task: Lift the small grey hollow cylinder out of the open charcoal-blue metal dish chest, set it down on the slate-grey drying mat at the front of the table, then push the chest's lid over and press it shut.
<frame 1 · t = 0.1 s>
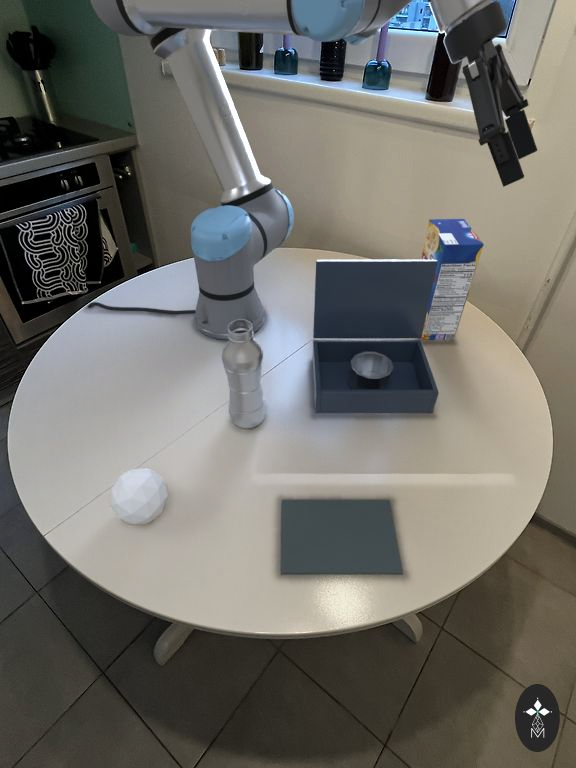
hand: (521, 167, 68), 36 cm above the table, tool tilted 35°, fingers open, 13 cm apart
blue cereal box: (429, 328, 99), on the table
dish chest: (368, 387, 85), on the table
grey hollow cylinder: (368, 384, 85), point 1 cm above the table, touching dish chest
drying mat: (338, 535, 63), on the table
geometric ball: (145, 510, 66), on the table
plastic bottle: (248, 419, 79), on the table
chest lid: (371, 301, 81), point 14 cm above the table, hinge at 95.0°
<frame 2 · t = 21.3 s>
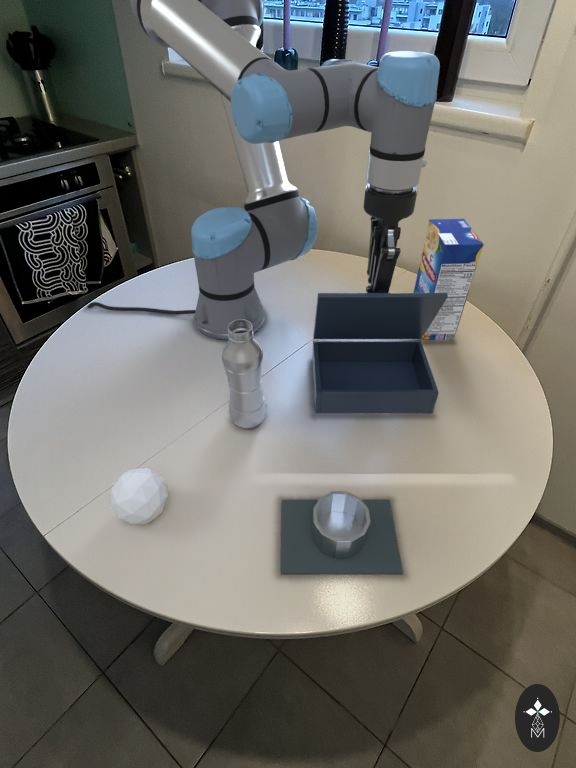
hand: (371, 318, 82), 11 cm above the table, tool pointing down, fingers closed
grey hollow cylinder: (338, 534, 63), resting on drying mat
chest lid: (374, 318, 79), point 13 cm above the table, hinge at 63.2°, touching gripper
everything else where it was.
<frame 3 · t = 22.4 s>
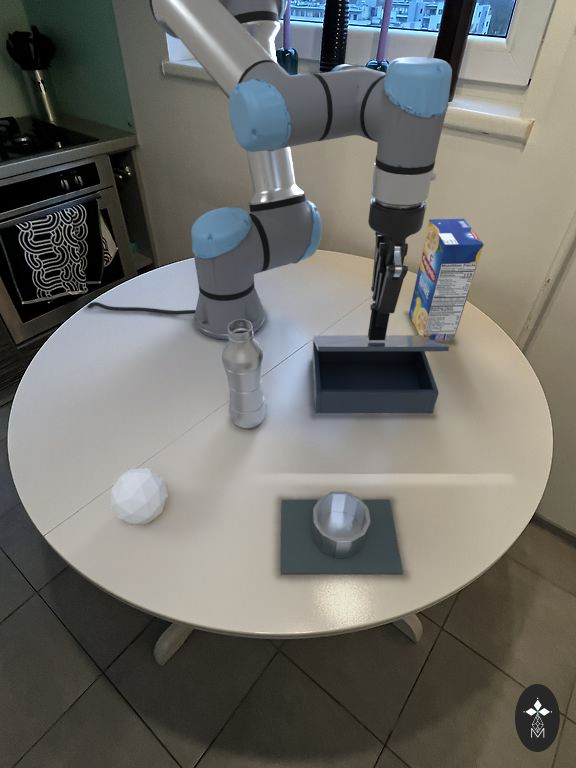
hand: (376, 337, 78), 12 cm above the table, tool pointing down, fingers closed
chest lid: (374, 342, 79), point 10 cm above the table, hinge at 30.6°
everything else where it was.
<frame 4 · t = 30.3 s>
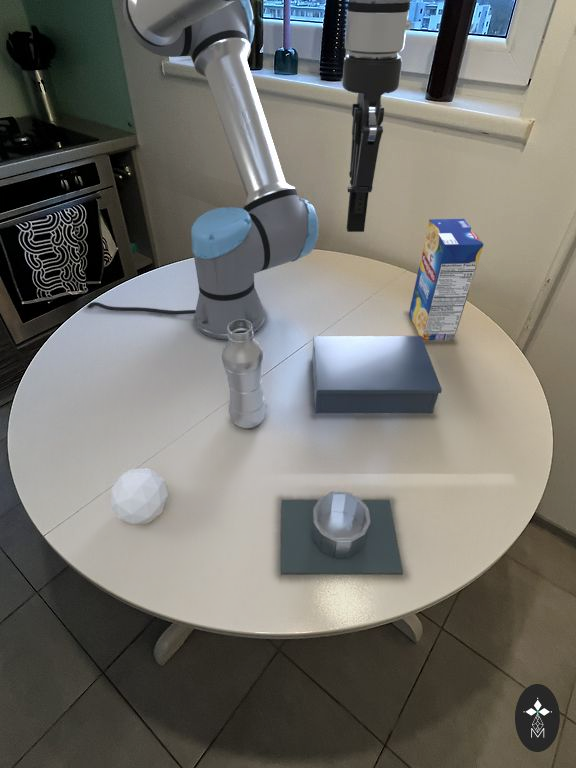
hand: (355, 229, 74), 26 cm above the table, tool pointing down, fingers closed
chest lid: (372, 362, 80), point 7 cm above the table, hinge at 1.9°
everything else where it was.
at the end: grey hollow cylinder inside the target area on the drying mat (0.1 cm from its centre), point 0.5 cm above the drying mat's base; grey hollow cylinder tilted 0°; chest lid at +2° (first picture: +95°) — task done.
